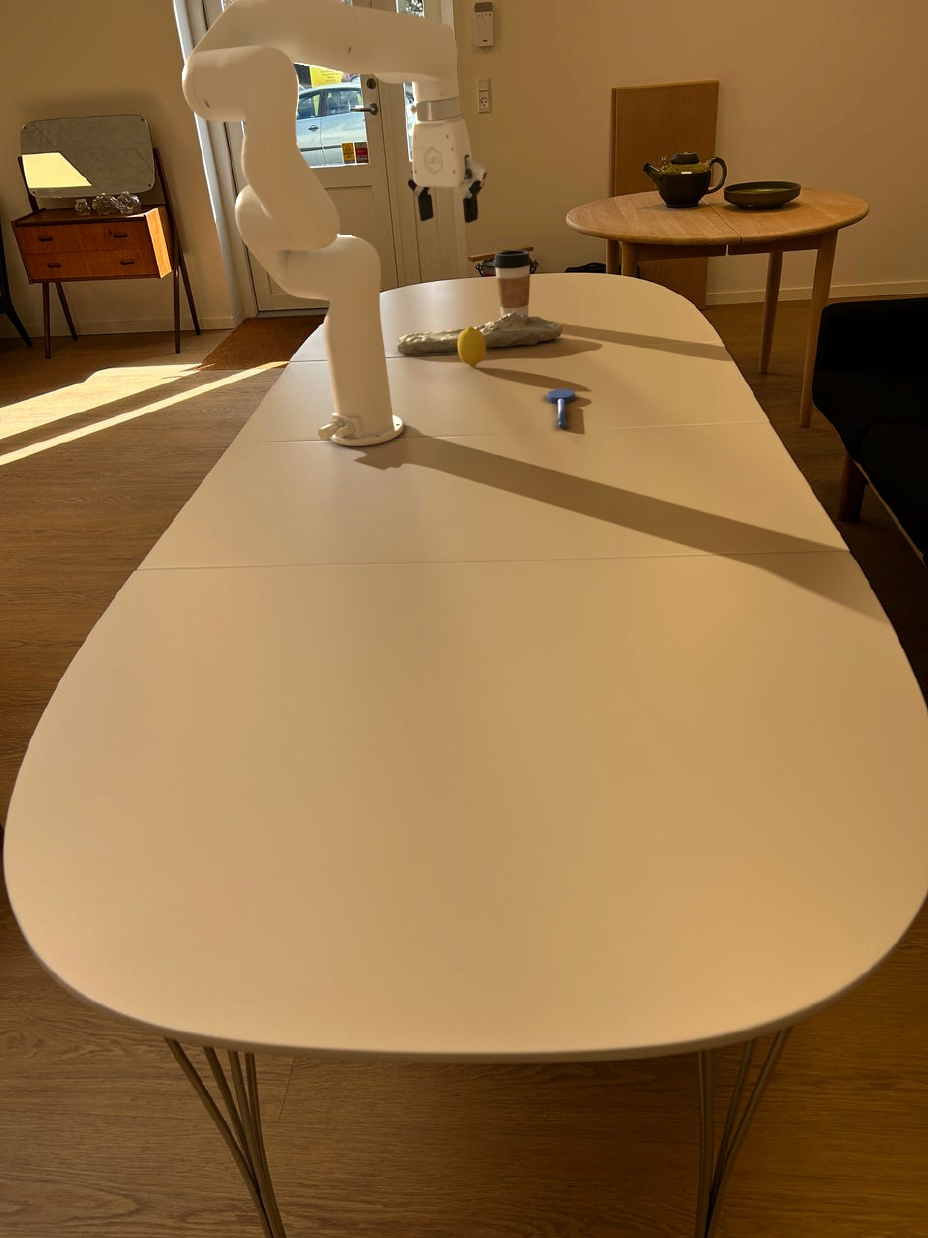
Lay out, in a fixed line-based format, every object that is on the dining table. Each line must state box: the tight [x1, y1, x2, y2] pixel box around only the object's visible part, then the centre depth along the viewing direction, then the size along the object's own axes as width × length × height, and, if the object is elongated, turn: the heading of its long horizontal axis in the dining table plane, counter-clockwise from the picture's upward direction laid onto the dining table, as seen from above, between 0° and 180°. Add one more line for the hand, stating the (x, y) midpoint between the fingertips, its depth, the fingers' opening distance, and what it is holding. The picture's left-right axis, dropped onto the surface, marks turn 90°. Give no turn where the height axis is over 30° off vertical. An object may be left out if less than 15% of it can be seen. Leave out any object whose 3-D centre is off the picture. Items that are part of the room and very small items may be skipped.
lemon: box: [457, 326, 487, 368], centre depth 183 cm, size 6×6×8 cm
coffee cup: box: [493, 249, 532, 317], centre depth 208 cm, size 8×8×15 cm
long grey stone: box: [396, 312, 563, 356], centre depth 197 cm, size 35×5×10 cm
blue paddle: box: [547, 388, 576, 430], centre depth 160 cm, size 18×5×1 cm, turn 176°
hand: (449, 220), depth 165 cm, fingers open, 9 cm apart
